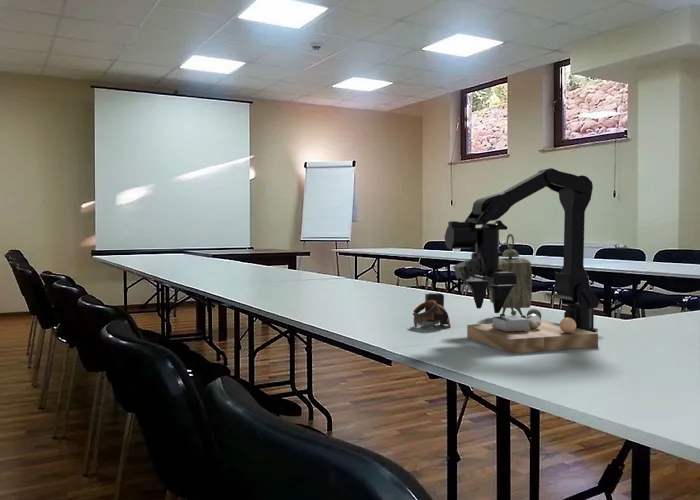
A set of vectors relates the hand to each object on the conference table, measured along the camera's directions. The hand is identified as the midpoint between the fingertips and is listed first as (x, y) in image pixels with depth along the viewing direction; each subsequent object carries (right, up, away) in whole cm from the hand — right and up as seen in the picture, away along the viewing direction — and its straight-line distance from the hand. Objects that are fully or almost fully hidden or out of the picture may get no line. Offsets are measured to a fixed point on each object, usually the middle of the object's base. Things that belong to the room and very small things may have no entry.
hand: (487, 310), depth 147 cm
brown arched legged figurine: (-12, -6, +14) cm, 20 cm away
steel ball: (+9, -2, -9) cm, 13 cm away
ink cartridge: (-10, -6, +25) cm, 27 cm away
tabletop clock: (+12, -5, +26) cm, 30 cm away
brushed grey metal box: (+3, -3, -11) cm, 11 cm away
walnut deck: (+8, -6, -9) cm, 13 cm away
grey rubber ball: (+11, -1, 0) cm, 12 cm away
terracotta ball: (+14, -2, -15) cm, 21 cm away
